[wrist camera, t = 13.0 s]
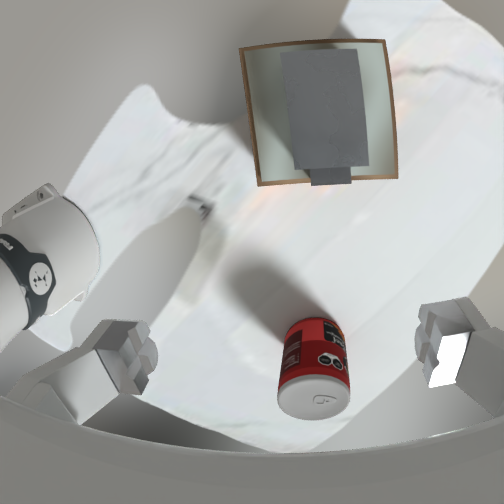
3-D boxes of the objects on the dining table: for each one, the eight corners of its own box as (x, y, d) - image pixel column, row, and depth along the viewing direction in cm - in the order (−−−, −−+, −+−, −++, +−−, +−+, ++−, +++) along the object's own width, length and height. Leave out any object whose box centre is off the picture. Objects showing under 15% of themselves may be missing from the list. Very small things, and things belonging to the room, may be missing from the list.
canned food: (348, 353, 41) (353, 415, 31) (292, 363, 43) (286, 424, 33) (339, 309, 38) (346, 372, 28) (278, 321, 40) (268, 384, 30)
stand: (267, 172, 32) (256, 188, 26) (252, 62, 28) (237, 46, 21) (379, 165, 30) (400, 180, 23) (368, 54, 25) (386, 37, 19)
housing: (284, 63, 21) (279, 52, 17) (347, 60, 20) (356, 48, 16) (298, 180, 25) (296, 193, 21) (359, 177, 24) (370, 189, 20)
